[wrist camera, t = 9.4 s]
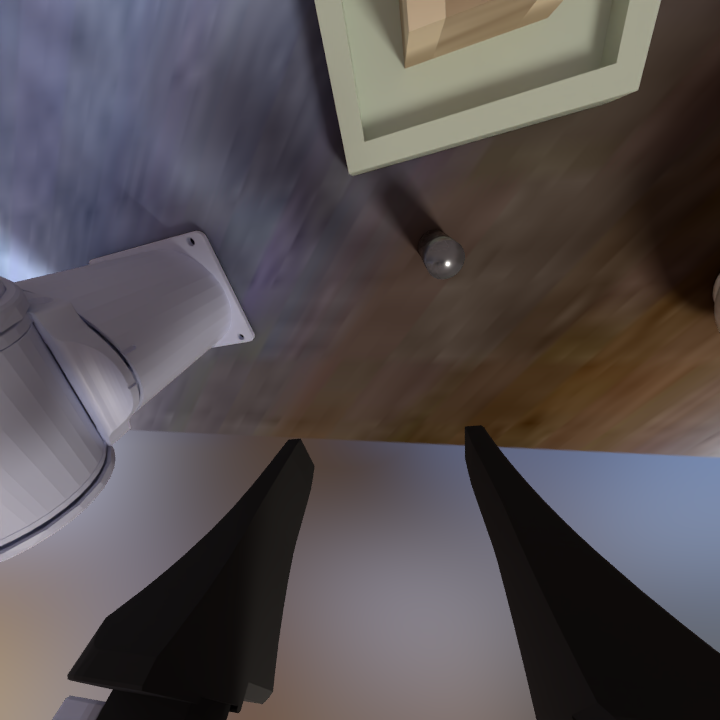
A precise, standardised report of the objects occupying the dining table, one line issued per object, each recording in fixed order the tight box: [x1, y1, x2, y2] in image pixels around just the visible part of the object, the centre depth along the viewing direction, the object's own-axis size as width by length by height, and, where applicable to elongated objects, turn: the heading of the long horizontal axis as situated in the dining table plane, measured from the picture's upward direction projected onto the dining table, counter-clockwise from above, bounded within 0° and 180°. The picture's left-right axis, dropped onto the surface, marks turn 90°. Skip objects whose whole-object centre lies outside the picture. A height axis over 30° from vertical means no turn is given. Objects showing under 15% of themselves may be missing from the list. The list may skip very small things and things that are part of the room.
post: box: [418, 230, 465, 279], centre depth 14 cm, size 2×2×4 cm
